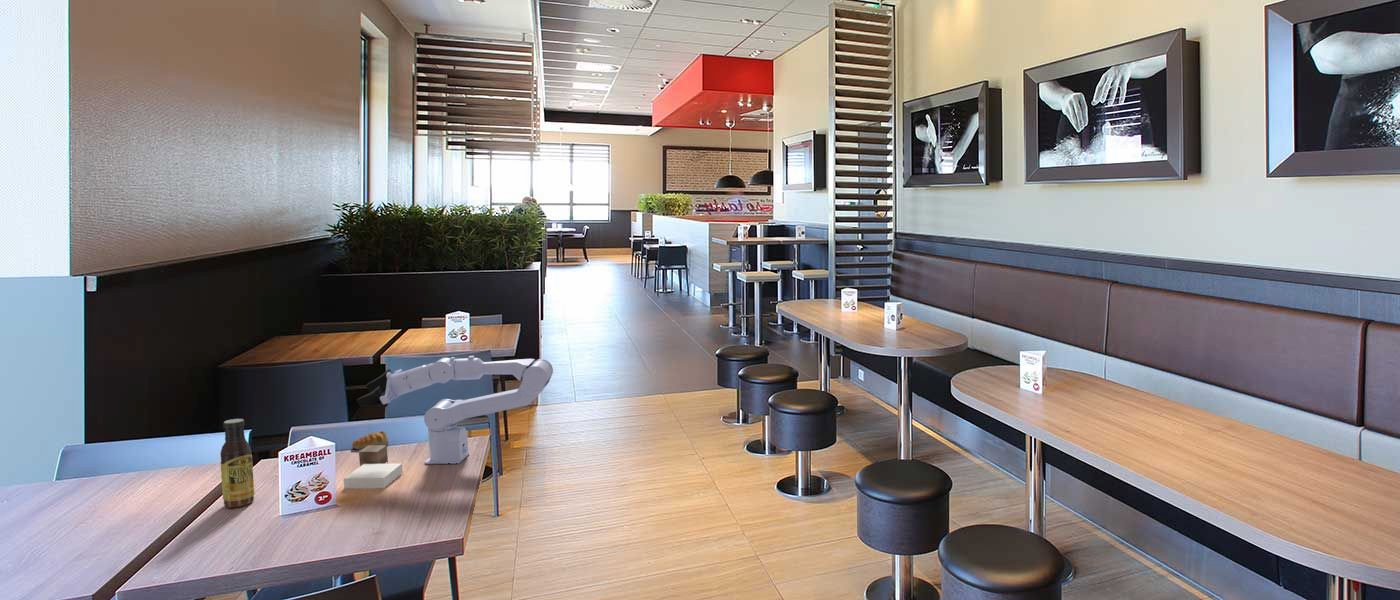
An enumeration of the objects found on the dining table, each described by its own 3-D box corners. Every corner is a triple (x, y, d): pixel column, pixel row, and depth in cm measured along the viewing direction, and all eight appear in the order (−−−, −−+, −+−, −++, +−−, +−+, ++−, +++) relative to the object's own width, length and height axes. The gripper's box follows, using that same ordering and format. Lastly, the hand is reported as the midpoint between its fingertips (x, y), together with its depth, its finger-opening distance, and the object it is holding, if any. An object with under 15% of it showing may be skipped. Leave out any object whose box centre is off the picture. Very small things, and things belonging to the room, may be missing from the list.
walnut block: (388, 463, 193) (386, 445, 192) (379, 469, 188) (377, 451, 187) (369, 463, 193) (368, 445, 193) (360, 470, 188) (358, 451, 188)
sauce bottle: (232, 511, 163) (222, 427, 161) (218, 505, 167) (209, 423, 164) (262, 501, 169) (253, 419, 166) (248, 495, 172) (239, 415, 170)
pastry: (355, 453, 202) (354, 440, 202) (349, 447, 207) (348, 434, 207) (390, 445, 208) (389, 432, 207) (383, 440, 213) (382, 427, 213)
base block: (402, 474, 185) (402, 463, 185) (384, 489, 175) (383, 478, 175) (365, 474, 186) (364, 463, 185) (344, 490, 176) (343, 478, 175)
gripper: (411, 355, 197) (364, 369, 197) (397, 381, 184) (347, 397, 184) (423, 376, 200) (376, 390, 200) (409, 403, 187) (360, 419, 187)
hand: (363, 395), depth 192 cm, fingers open, 7 cm apart
